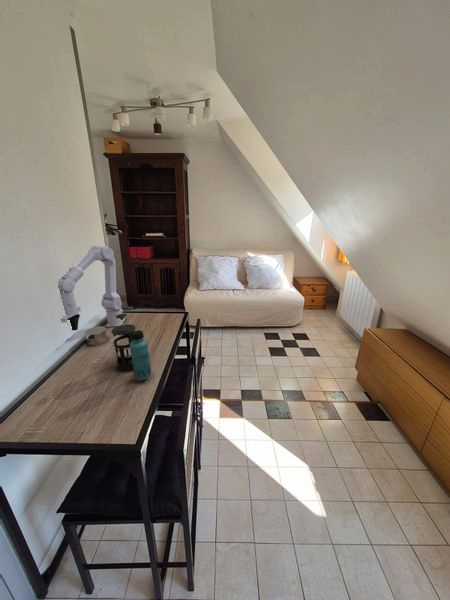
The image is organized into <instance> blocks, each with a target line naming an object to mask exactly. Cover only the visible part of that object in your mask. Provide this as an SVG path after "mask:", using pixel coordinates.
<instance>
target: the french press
mask: <svg viewBox="0 0 450 600" xmlns="http://www.w3.org/2000/svg"><path fill="white" fill-rule="evenodd" d="M127 316H128V314H127V313H122V314H119V315H117V316H116V318H120V319H121V320H122V324H121V325H120V326H114V327H113V328H112V329H111V335H113V337H114V340H113V346H114V350H115V355H116V363H117V370H118V371H120V372H123V373H128V372H133V371H134V370H133V364H132V362H131V363H127V362H128V361H132V356H131V349H130V343H131V342H132V341H133V339H132V332H134V331H136V326H135V325H134V324H130V323H129V324H128V323H127V324H126V323H125V324H124V322H123V319H125V318H126V317H127ZM116 336H118V337H116ZM115 337H116V338H115ZM123 339H124V342H125V344H124V345H123V344H122V345H120V344H119V345H118V341H120V340H123ZM127 340H128V344H127Z"/></svg>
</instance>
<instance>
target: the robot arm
mask: <svg viewBox="0 0 450 600" xmlns="http://www.w3.org/2000/svg"><path fill="white" fill-rule="evenodd" d="M114 254H115V253H114V250H113V249H112V248H111V247H110V246H99V245H93V246H91V247H90V249H88V251H87V253H86V254H85V256H84V257H83V258H82V259H81V261H80V262H79V263H78V264H77V265H76V266H72V267H69V268H68V271H66V273H65V274H64V275H62V276H61V278H58V279H59V281H58V288H59V290H60V295H61V299H62V303H63V306H64V310H65V314H66V316H63V315H62V316H63V317H62V316H61V317H60V322H61V323H63V324H64V323H67V320H70V323H71V326H72V329H71V331H78V330H79V321H80V317H81V314H80V313H79V312H80V311H81V310H82V309H81V306H77V302H76V298H75V293H74V290H75V287H76V284H77V282H79V280H80V279H81V278H82V277H83V276H84V271H85V270H86V269H88V268H89V266H91V264H93V263H94V262H96V261H100V262H101V263H102V264H103V265H104V285H105V286H104V288H105V289H104V290H105V292H104V294H103V295H102V299H101V302H100V304H101V307H103V308H104V310H105V314H106V319H107V324H106V325H105V328H109V327H111V328H112V327H117V326H120V325H122V320H121V319H120V318H116V316H117V315H119V314H123V309H122V305H123V302H122V300H121V296H120V294H118V293H117V267H116V263H117V262H116V258H115V255H114ZM63 291H64V292H63ZM125 320H126V318H123V323H124V322H125Z"/></svg>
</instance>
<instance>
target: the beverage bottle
mask: <svg viewBox="0 0 450 600" xmlns="http://www.w3.org/2000/svg"><path fill="white" fill-rule="evenodd" d="M144 337H145V335H144V331H143V330H139V329H138V330H135V331H134V332H132V339H133V341H132V342H131V343H130V349H131V356H132V360H131V363H132V364H133V371H132V372H133V376H134V378H135V380H137V381H144V380H147V379H149V378H150V377H151V375H152V366H151V360H150V358H151V357H150V352H149V345H148V340H147V339H145V338H144Z"/></svg>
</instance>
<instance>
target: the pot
mask: <svg viewBox="0 0 450 600" xmlns="http://www.w3.org/2000/svg"><path fill="white" fill-rule="evenodd" d="M84 334H85V339H86V343H87V345H88V346H91V347H95V346H100V345H103V344H105V343H106V342H107V341H108V334H107V329H106V326H103V325H99V326H92V327H89V328H88V329H86V330H85V332H84Z"/></svg>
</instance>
